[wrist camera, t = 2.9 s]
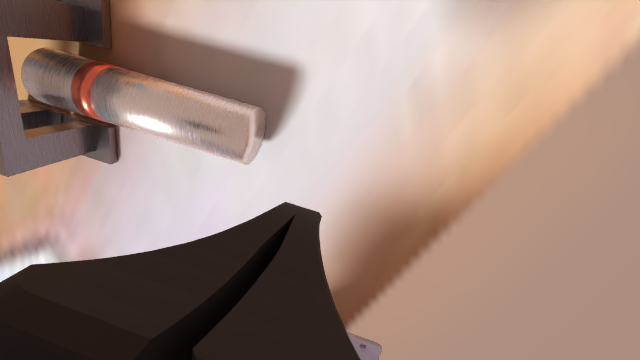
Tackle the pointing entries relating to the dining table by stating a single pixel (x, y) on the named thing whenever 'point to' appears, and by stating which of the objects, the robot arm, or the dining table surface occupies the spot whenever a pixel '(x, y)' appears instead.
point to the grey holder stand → (78, 132)
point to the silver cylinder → (145, 104)
